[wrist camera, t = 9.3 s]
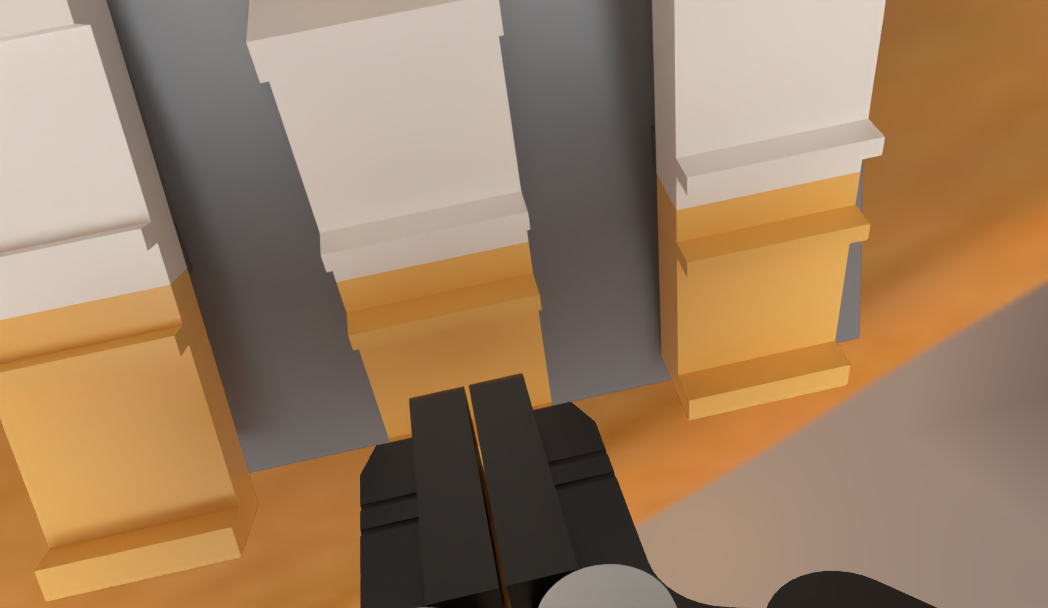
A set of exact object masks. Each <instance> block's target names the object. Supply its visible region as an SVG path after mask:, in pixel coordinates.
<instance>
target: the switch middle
mask: <svg viewBox="0 0 1048 608" xmlns="http://www.w3.org/2000/svg"><path fill="white" fill-rule="evenodd" d="M503 35H504V32H503V25H502V17H501V10H500V3H499V0H249V12H248V24H247V37H246V43H247V46H248V49H249V52H250V55H251V58H252V61H253V64H254V67H255V70H256V73H257V76H258V78H259V81H260V83H264V82H269V83H270V86H271V89H272V92H273V95H274V98H275V101H276V104H277V107H278V110H279V113H280V116H281V119H282V122H283V125H284V128H285V131H286V134H287V137H288V140H289V143H290V146H291V149H292V152H293V154H294V157H295V160H296V163H297V166H298V169H299V172H300V175H301V178H302V181H303V184H304V187H305V190H306V193H307V196H308V199H309V202H310V205H311V208H312V211H313V214H314V217H315V220H316V223H317V226H318V229H319V232H320V252H321V258H322V261H323V264H324V267H325V269H326V272H331V271H333V274H334V277H335V280H336V283H337V286H338V289H339V292H340V294H341V297H342V300H343V303H344V306H345V309H346V312H347V326H348V337H349V340H350V343H351V345H352V348H353V350H358V349H359V351H360V354H361V357H362V360H363V363H364V366H365V369H366V372H367V375H368V378H369V381H370V384H371V387H372V390H373V393H374V396H375V399H376V402H377V405H378V408H379V411H380V414H381V417H382V420H383V423H384V426H385V429H386V432H387V435H388V437H389V442H394V441H398V440H403V439H407V438H412V431H411V419H410V407H409V399H410V398H413V397H417V396H422V395H426V394H431V393H435V392H440V391H444V390H449V389H453V388H458V387H462V386H464V388H465V392H466V396H467V400H468V405H469V409H470V413H471V418H472V422H473V426H474V431H475V435H476V439H477V443H478V448H479V452H480V456H481V461H482V455H481V450H480V444H479V439H478V434H477V428H476V423H475V418H474V412H473V407H472V402H471V396H470V391H469V385H470V384H475V383H479V382H484V381H488V380H493V379H497V378H502V377H507V376H511V375H516V374H520V373H522V374H523V376H524V380H525V383H526V387H527V390H528V394H529V397H530V401H531V404H532V408H533V410H536V409H540V408H544V407H549V406H553V405H552V401H551V394H550V387H549V380H548V373H547V366H546V359H545V353H544V346H543V339H542V332H541V325H540V318H539V310H542V308H541V301H540V294H539V291H538V288H537V284H536V281H535V278H534V275H533V269H532V263H531V256H530V249H529V242H528V235H527V230H530V223H529V216H528V211H527V207H526V204H525V201H524V198H523V195H522V192H521V186H520V179H519V173H518V166H517V159H516V152H515V145H514V138H513V131H512V124H511V117H510V110H509V103H508V96H507V89H506V83H505V76H504V69H503V62H502V55H501V48H500V41H499V36H503ZM482 465H483V461H482Z"/></svg>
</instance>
